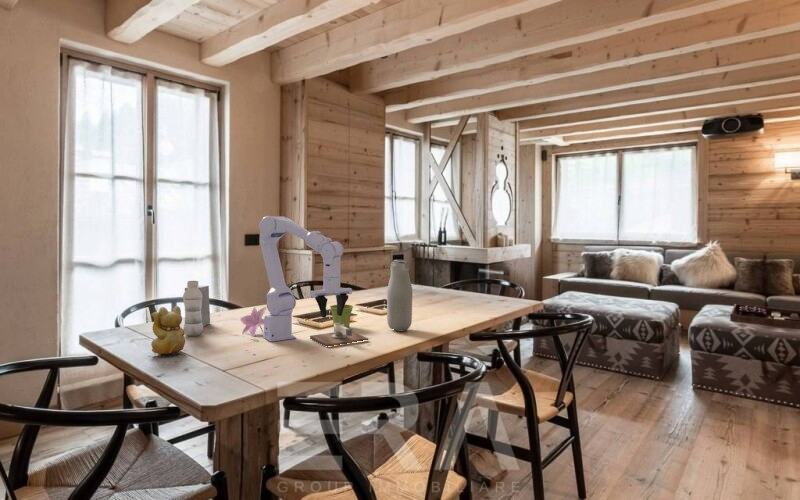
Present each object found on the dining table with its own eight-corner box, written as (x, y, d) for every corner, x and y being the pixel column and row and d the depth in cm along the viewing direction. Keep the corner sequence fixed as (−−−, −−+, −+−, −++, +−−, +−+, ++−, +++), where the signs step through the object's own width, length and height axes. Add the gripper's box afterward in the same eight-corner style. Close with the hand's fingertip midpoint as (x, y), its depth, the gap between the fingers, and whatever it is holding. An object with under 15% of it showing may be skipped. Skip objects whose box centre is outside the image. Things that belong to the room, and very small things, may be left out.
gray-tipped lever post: (345, 336, 158) (345, 328, 158) (332, 330, 166) (332, 323, 166) (354, 335, 160) (354, 327, 160) (341, 329, 168) (341, 322, 168)
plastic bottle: (196, 338, 165) (195, 282, 164) (179, 337, 166) (178, 282, 165) (207, 334, 171) (206, 280, 170) (190, 333, 173) (190, 279, 171)
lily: (240, 332, 179) (231, 313, 174) (268, 318, 184) (261, 299, 179) (250, 349, 170) (241, 329, 165) (279, 333, 175) (272, 314, 170)
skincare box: (202, 328, 181) (201, 287, 180) (183, 327, 181) (183, 287, 180) (211, 323, 190) (210, 284, 189) (193, 322, 190) (193, 284, 189)
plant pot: (341, 331, 179) (341, 309, 179) (324, 328, 185) (324, 306, 184) (358, 327, 187) (358, 306, 186) (341, 324, 192) (341, 303, 192)
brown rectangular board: (327, 347, 156) (327, 339, 156) (310, 339, 167) (310, 330, 167) (368, 341, 165) (368, 333, 165) (349, 333, 176) (349, 325, 176)
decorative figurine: (179, 348, 152) (178, 303, 151) (191, 353, 147) (191, 306, 146) (148, 355, 144) (147, 307, 143) (159, 360, 139) (159, 311, 138)
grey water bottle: (412, 328, 187) (413, 258, 185) (410, 334, 177) (411, 261, 175) (388, 327, 188) (389, 258, 186) (384, 333, 178) (385, 260, 176)
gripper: (317, 279, 151) (317, 320, 152) (356, 277, 159) (355, 316, 160) (308, 277, 157) (308, 316, 158) (346, 274, 165) (346, 312, 166)
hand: (331, 316), depth 159 cm, fingers open, 5 cm apart
